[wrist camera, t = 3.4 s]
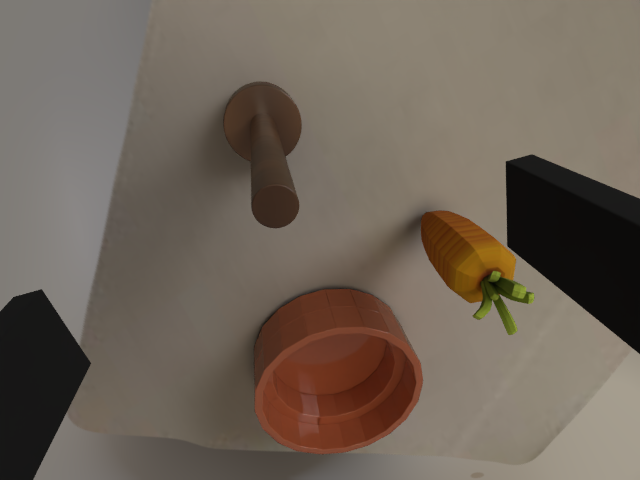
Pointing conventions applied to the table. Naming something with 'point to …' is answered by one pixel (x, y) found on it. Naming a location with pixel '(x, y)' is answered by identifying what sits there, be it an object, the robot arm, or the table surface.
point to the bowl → (334, 372)
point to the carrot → (472, 263)
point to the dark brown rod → (266, 148)
